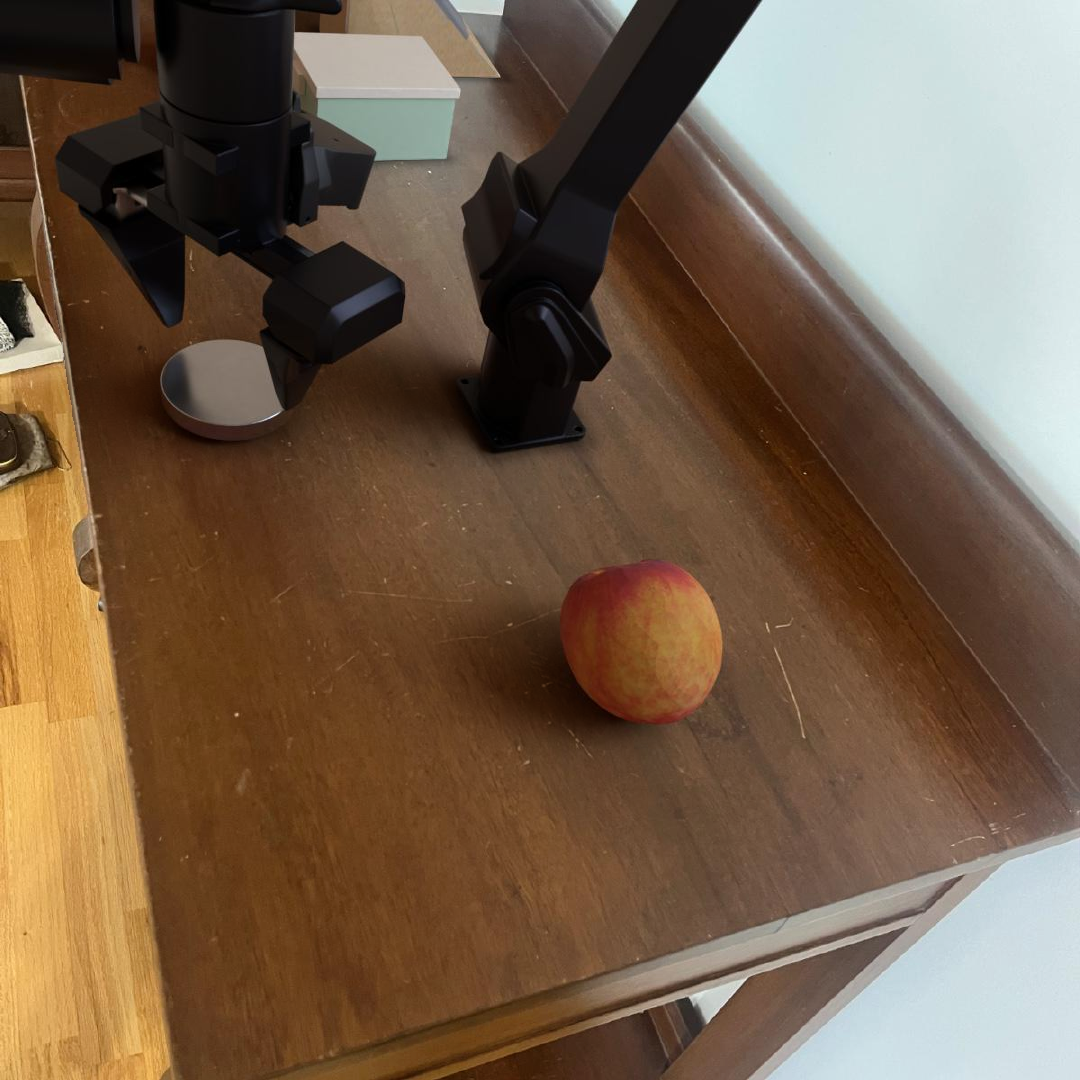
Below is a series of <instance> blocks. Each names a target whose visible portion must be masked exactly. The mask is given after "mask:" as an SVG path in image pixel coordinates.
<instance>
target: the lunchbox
mask: <svg viewBox="0 0 1080 1080" xmlns="http://www.w3.org/2000/svg"><path fill="white" fill-rule="evenodd" d="M293 90H294V91H296V92H298V94H299V95H300V106H301V109H304V110H305V111H307V112H309V113H310V114H312V115H314V116H316V117H319V118H321V119H323V120H326V121H327V122H329V123H331V124H333V125H334V126H336V127H338V128H340V129H341V130H343V131H345V132H346V133H348V134H350V135H351V136H353V137H355V138H356V139H358V140H360V141H361V142H363V143H365V144H367V145H368V146H370V147H371V148H373V149H374V150H375V151H376V157H375V160H374V162H378V161H379V162H380V161H381V162H382V161H383V162H385V161H419V160H420V161H421V160H447V157H448V150H449V145H450V144H449V143H450V139H451V132H452V125H453V120H454V119H453V118H454V113H455V105H456V99H457V100H459V99H460V95H461V87H460V85H458V83H457V82H456V80H455V79H454V77H452V76H451V75H450V74H449V72H448V71H447V70H446V68H445V67H444V66H443V64H442V63H441V62H440V60H439V59H438V58H437V56H436V55H435V53H434V52H433V51H432V49H431V48H430V47H429V45H428V44H427V43H426V41H425V40H424V39H423V37H422V36H397V35H366V34H335V33H321V32H304V31H303V32H301V31H298V32H297V31H295V33H294V63H293Z"/></svg>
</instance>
